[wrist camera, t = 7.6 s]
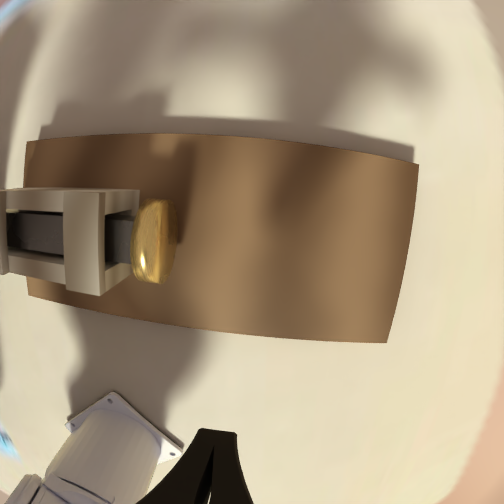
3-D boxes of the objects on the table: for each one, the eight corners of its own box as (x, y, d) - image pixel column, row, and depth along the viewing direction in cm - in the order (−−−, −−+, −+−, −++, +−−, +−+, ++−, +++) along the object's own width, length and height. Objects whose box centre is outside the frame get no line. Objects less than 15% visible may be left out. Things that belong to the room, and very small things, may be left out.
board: (410, 165, 16) (463, 160, 11) (380, 334, 19) (414, 383, 13) (37, 142, 17) (-20, 137, 11) (37, 290, 19) (-12, 317, 13)
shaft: (179, 198, 16) (153, 202, 12) (175, 271, 17) (151, 295, 13) (20, 192, 16) (-21, 196, 12) (21, 249, 17) (-18, 263, 13)
